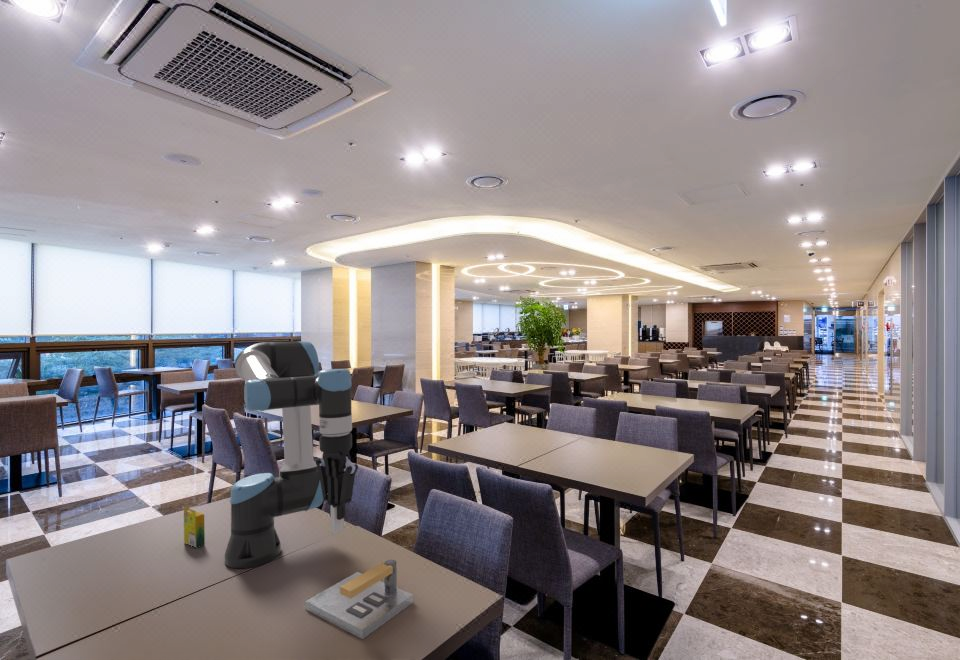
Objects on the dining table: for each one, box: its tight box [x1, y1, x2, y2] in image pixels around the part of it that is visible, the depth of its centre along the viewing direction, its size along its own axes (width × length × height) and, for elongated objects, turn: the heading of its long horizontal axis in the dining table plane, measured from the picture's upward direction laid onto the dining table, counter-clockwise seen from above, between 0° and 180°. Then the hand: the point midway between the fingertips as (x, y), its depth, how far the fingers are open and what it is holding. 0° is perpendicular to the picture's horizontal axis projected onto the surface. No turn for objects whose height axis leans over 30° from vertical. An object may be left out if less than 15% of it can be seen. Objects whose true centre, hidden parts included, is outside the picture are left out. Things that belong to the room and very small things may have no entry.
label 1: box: [346, 602, 373, 618], centre depth 106 cm, size 5×4×1 cm
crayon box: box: [183, 506, 206, 548], centre depth 146 cm, size 7×3×12 cm, turn 58°
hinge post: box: [384, 569, 398, 593], centre depth 114 cm, size 3×3×7 cm
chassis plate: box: [304, 571, 414, 640], centre depth 111 cm, size 20×16×2 cm
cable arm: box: [340, 559, 397, 599], centre depth 109 cm, size 16×4×2 cm, turn 146°
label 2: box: [363, 592, 388, 607], centre depth 110 cm, size 5×4×1 cm
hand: (337, 531), depth 110 cm, fingers closed
